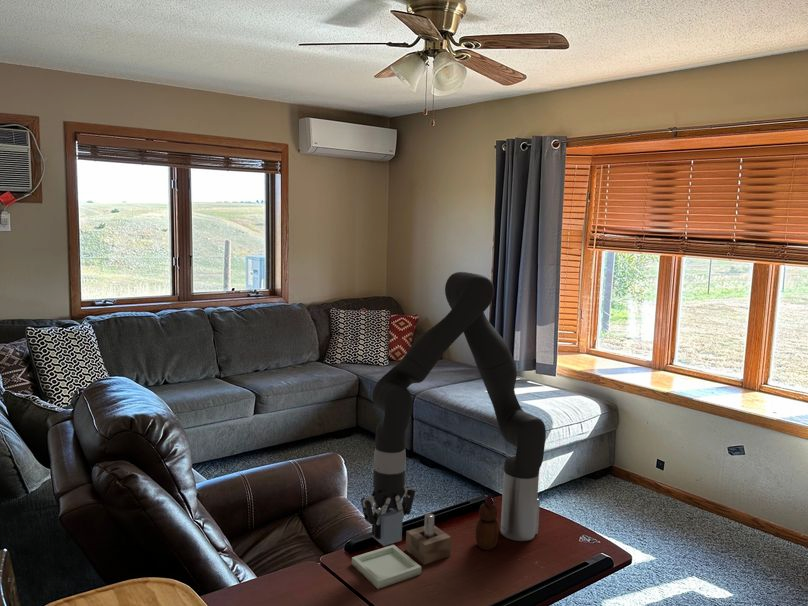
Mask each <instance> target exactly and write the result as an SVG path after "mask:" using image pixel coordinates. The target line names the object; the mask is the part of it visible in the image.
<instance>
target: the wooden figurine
mask: <svg viewBox="0 0 808 606" xmlns="http://www.w3.org/2000/svg"><path fill="white" fill-rule="evenodd" d="M478 515H479V518H478V519H477V521H476V524H475V525H476V527H475V540H476V541H475V542H476V544H477V546H478V547H479V548H480V549H481V550H484V551H485V550H486V551H489V550H490V551H491V550H492V549H494V548H495V547H496V545H497V542H498V539H499V522H498V520H497V517H498V509H497V506H496V505H495V504H493V494H492V493H490V492H489V493H488V495H487V496H486V497H485V501H484V503H482V504H481V505H480V507H479V510H478Z"/></svg>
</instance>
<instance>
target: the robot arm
mask: <svg viewBox="0 0 808 606" xmlns="http://www.w3.org/2000/svg"><path fill="white" fill-rule="evenodd" d="M444 295H445V299H446V301H447V303H448V305H449V307H450V309H451V310H450V311H449V312H448V313H447V314H446V316H445V317H443V318H442V319H441V320H440V321H439V322H438V323H436V324H435V325H433V326H432V327H431V328H429V329H428V330H427V331H425V332H424V333H423V334H422V335H420V336H419V338H417V340H416V341H414V343H413V344H412V345H411V346H410V348H409V349H408V351H407V352H406V353H405V355H403V357H402V358H401V360H400V361H399V362H398V363H397V364H396V365H395V366H393V367H392V368H391V369H390V370H389V371H388V372H386V374H384V375H383V376H382V377H381V378H380V379H378V381H377V383H376V384H375V385H374V388H373V391H372V395H371V399H372V402H373V404H374V405H375V406H376V407H377V408H379V409H380V410H381V411H383V412H384V417H383V421H380V422H379V423H378V424H377V426H376V427H375V428H376V429H375V437H374V439H375V441H374V442H375V443H374V452H373V464H372V465H373V469H372V470H373V471H372V472H373V473H372V476H373V477H372V486H373V492H372V493H371V495H370V496H368V497H362V498H361V499H360V501H361V502H360V503H361V507H362V511H363V518H364V520H365V521H366V522H367V523H369V524H370V525H371V536H372V535H373V536H374V537H375V538H376V539H377V540H378V539H380V538H381V517H382V516H384V515H385V513H386V510H388V509H390V508H395V509H396V510H397V511H401V512H403V517H402V523H403V519H404V517H405V516H406V515H410V514H411V512H412V511H411V510H412V507H413V502H414V499H415V494H416V491H415V490H414V489H413V488H411V487H409V486H406V470H407V469H406V468H407V467H406V466H407V465H406V464H407V455H406V454H407V452H406V440H407V439H406V438H407V435H406V434H407V433H406V432H407V429H408V426H409V422H410V419H411V415H412V411H413V397H412V394H411V391H410V390H409V389H408V388H409V387H410V386H411V385H412V384H420V383H422V382H423V381H424V380H425V379H426V378H427V377H428V375H429V374H430V373H431V372H432V370H433V368H434V367H435V366H436V364H437V363H438V362H439V360H440V359H441V358H442V357H443V356H444V354H445V353H446V352H447V351H448V349H449V348H450V347H451V346H452V345H453V344H454V342H455V341H456V340H458V338H459V337H460V336H461V335H462V334H463V335H464V336H465V340H466V342H467V345H468V347H469V349H470V352H471V354H472V356H473V360H474V363H475V365H476V368H477V370H478V373H479V375H480V377H481V380H482V382H483V385H484V387H485V389H486V392H487V394H488V396H489V399H490V401H491V404H492V407H493V410H494V414H495V418H496V422H497V426H498V429H499V432H500V434H501V436H502V438H503V439H504V440H505V441H506V442H507V443H509V444H511V445H512V446H515V447H516V449H515V455H514V456H510V457H507V458H506V459H505V460H504V464H503V465H504V466H503V478H502V479H503V480H502V496H501V497H502V499H501V500H502V501H501V516H500V534H501V535H502V536H503V537H504V538H506V539H509V540H511V541H512V540H513V541H517V542H526V541H531V540H533V539H534V538H535V537H536V535H538V533H539V521H540V519H539V518H540V504H541V503H540V502H541V501H540V499H539V498H538V495H539V479H540V478H539V477H540V469H541V467H542V464H543V461H544V456H545V455H544V454H545V446H546V438H547V437H546V436H547V435H546V434H547V431H546V430H547V429H546V426H545V423H544V421H543V420H542V419H541V418H539V417H537V416H535V415H533V414H530V413H529V412H526V411H524V409H522V406H521V405H520V403H519V401H518V398H517V396H516V392H515V386H516V382H517V376H518V375H517V373H518V371H517V365H516V363H515V360H514V358H513V355H512V352H511V350H510V348H509V346H508V344H507V343H506V341H505V340H504V338H503V337H502V335H500V333H499V332H498V331H497V329H495V326H493V325H492V323H491V322H490V320H489V319H488V318H487V316H486V314H485V311H486V310H487V309H488V308H489V306H490V305H491V304H492V301H493V300H494V297H495V287H494V284H493V282H492V281H491V279H489V278H488V277H486V276H485V275H482V274H479V273H478V274H477V273H472V272H468V271H467V272H466V271H457V272H454V273H452V274H451V275H450V276H448V278H447V280H446V282H445V286H444ZM405 486H406V487H405ZM401 500H402V501H401ZM379 508H381V510H380V509H379ZM377 514H378V516H377ZM375 538H374V539H375ZM376 539H375V540H376ZM377 540H376V541H377Z"/></svg>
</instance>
